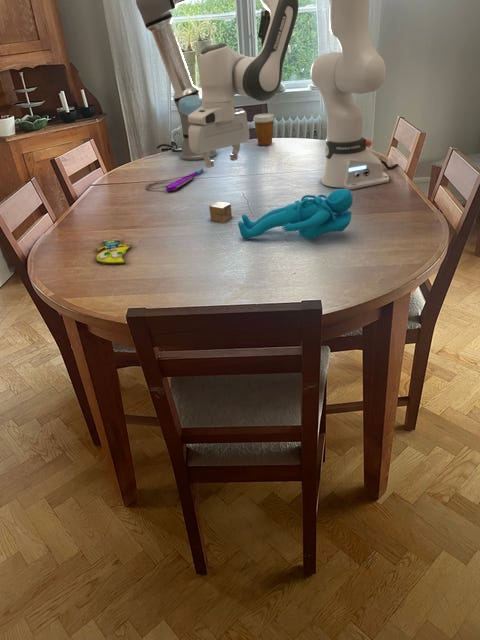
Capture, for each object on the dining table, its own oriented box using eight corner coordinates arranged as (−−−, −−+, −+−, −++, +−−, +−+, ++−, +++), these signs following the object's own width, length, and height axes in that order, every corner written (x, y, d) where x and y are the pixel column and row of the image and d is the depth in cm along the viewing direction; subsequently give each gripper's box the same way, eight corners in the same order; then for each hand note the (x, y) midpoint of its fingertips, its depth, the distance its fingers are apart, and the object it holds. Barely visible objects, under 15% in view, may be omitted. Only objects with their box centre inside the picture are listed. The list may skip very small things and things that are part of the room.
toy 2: (244, 202, 136) (351, 176, 125) (255, 236, 141) (358, 213, 131) (231, 226, 122) (349, 198, 112) (243, 263, 127) (358, 239, 117)
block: (219, 215, 147) (217, 201, 144) (232, 217, 144) (230, 203, 142) (210, 220, 144) (209, 206, 141) (223, 223, 141) (222, 208, 139)
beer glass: (276, 145, 214) (274, 116, 208) (254, 146, 215) (253, 118, 208) (274, 140, 222) (273, 112, 216) (254, 141, 223) (252, 114, 216)
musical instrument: (142, 197, 170) (197, 185, 167) (141, 191, 169) (195, 179, 166) (155, 181, 191) (204, 170, 188) (154, 176, 190) (202, 165, 187)
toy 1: (135, 237, 135) (125, 260, 122) (135, 240, 135) (125, 263, 123) (99, 239, 135) (85, 263, 122) (100, 242, 135) (86, 266, 123)
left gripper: (279, -5, 204) (281, 52, 215) (247, -3, 187) (250, 58, 199) (295, -7, 200) (295, 51, 212) (263, -5, 183) (266, 58, 195)
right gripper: (238, 106, 140) (240, 154, 147) (182, 117, 128) (188, 169, 136) (253, 107, 136) (255, 157, 143) (197, 119, 124) (202, 173, 132)
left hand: (274, 55), depth 205 cm, fingers open, 13 cm apart
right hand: (222, 163), depth 139 cm, fingers open, 8 cm apart
